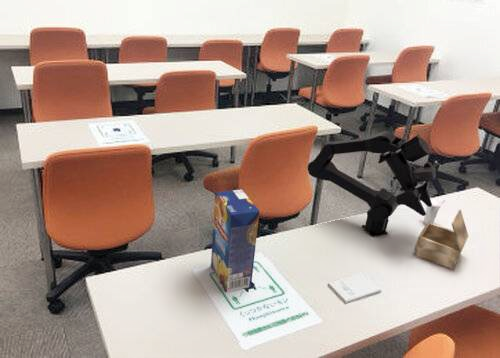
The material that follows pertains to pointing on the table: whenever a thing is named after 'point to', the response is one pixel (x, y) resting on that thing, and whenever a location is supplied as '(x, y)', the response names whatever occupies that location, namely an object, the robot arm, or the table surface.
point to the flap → (460, 230)
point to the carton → (438, 246)
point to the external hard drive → (354, 288)
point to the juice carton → (234, 239)
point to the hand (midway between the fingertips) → (427, 210)
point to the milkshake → (432, 211)
